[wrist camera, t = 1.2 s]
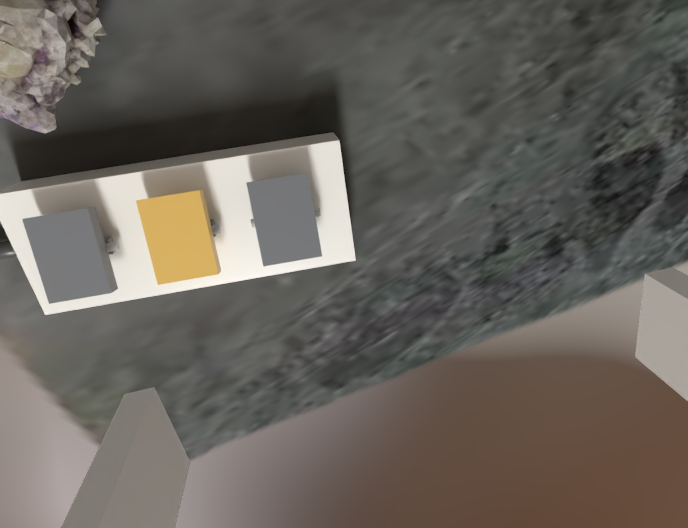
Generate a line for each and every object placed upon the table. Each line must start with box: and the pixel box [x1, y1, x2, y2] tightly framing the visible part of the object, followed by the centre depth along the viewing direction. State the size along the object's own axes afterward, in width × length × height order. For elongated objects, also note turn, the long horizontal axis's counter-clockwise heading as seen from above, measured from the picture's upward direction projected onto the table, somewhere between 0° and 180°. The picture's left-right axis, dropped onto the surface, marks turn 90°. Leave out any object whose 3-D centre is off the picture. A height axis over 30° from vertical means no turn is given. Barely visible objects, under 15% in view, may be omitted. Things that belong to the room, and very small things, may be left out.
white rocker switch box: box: [0, 132, 356, 315], centre depth 33 cm, size 9×28×5 cm, turn 98°
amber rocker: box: [136, 190, 221, 285], centre depth 30 cm, size 6×4×1 cm
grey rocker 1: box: [22, 207, 118, 304], centre depth 29 cm, size 6×4×1 cm
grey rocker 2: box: [246, 172, 322, 267], centre depth 30 cm, size 6×4×1 cm
